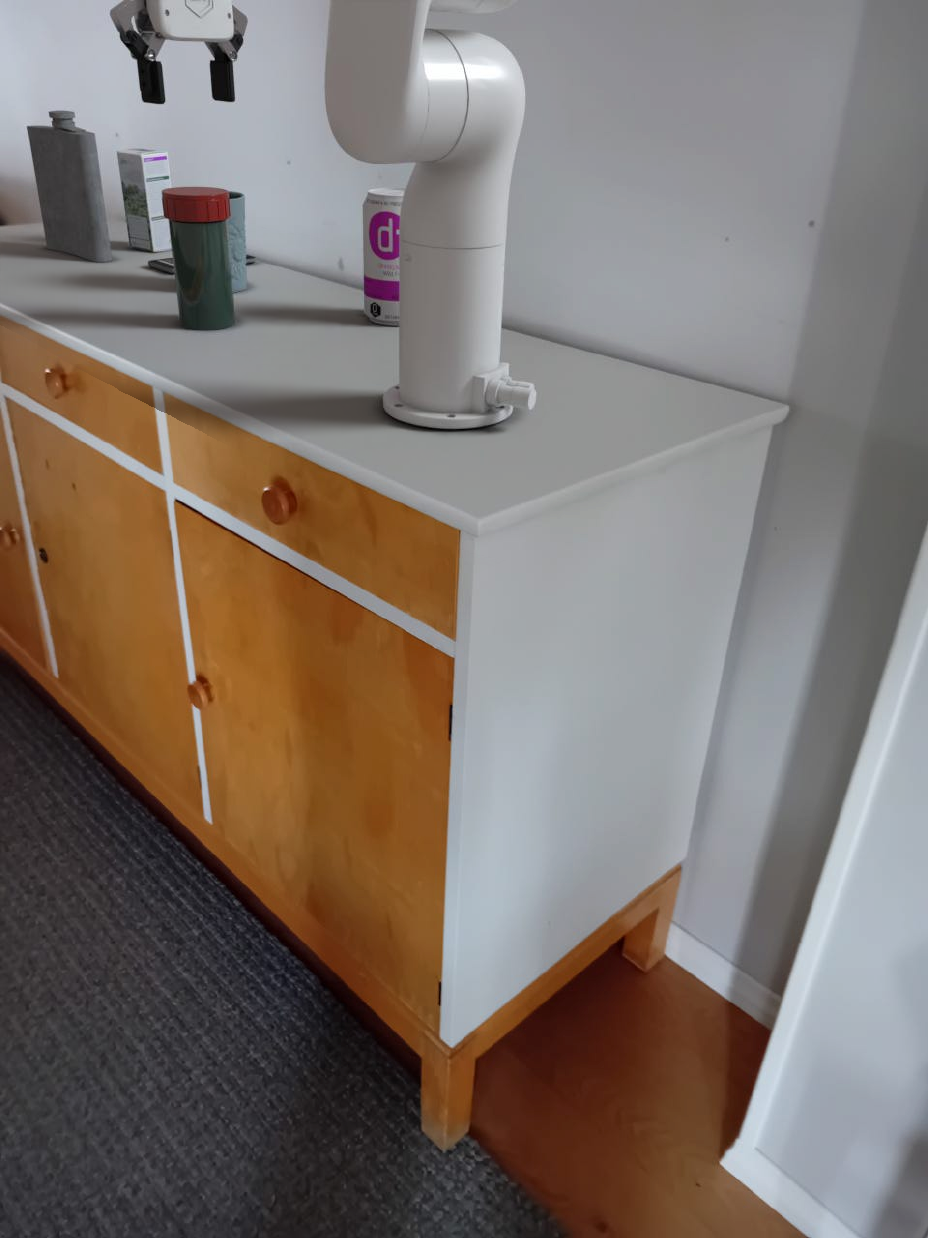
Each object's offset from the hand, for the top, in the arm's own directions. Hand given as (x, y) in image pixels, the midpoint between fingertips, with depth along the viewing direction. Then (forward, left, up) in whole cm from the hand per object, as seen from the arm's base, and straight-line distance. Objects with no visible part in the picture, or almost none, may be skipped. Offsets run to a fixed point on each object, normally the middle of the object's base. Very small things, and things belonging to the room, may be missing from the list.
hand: (189, 101), depth 110 cm
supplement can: (-18, -15, -24) cm, 33 cm away
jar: (0, 0, -24) cm, 24 cm away
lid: (0, 0, -10) cm, 10 cm away
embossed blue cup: (+12, -16, -24) cm, 31 cm away
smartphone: (+23, -27, -24) cm, 43 cm away
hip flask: (+44, -23, -24) cm, 55 cm away
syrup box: (+38, -33, -24) cm, 56 cm away
